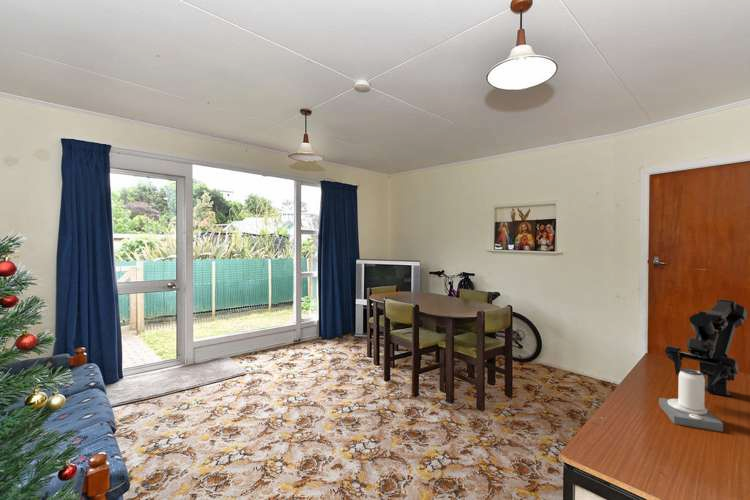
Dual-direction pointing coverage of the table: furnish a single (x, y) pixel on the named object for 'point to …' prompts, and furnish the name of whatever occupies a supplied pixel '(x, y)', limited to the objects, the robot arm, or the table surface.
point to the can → (691, 389)
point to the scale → (690, 415)
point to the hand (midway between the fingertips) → (693, 379)
